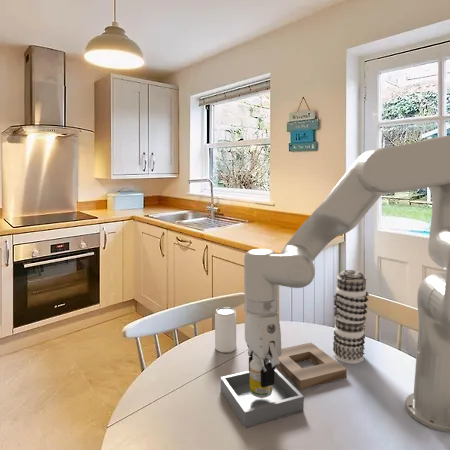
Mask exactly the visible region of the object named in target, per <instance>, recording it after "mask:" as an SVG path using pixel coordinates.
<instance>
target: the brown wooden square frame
mask: <svg viewBox="0 0 450 450" xmlns="http://www.w3.org/2000/svg"><path fill="white" fill-rule="evenodd" d="M278 359H279V362H280V364H279V365H278V366H277V367H276V369H277V370H278V371H279V372H281V373H282V374H283V375H284V376H285V377H286V378H288V379H289V381H291V382H292V384H294V385H295V386H296V387H297V389H298V390H300V391H302V390H305V389H309V388H313V387H318V386H321V385H324V384H328V383H332V382H336V381H340V380H344V379H348V377H347V376H348V375H347V373H348V369H347V367H345V366H344V365H342V364H341V363H339V361H338V360H337V359H334V357H331V355H329V354H327V353H326V352H325V351H323V350H322V349H321V348H319V347H318V346H316V345H315V344H314V343H312V342H306V343H302V344H297V345H293V346H287V347H283V348H281V356H278ZM306 361H310V362H312V363H313V364H314V365H312V366H309V367H304V368H302V367H301V366H300V365H299V364H298V363H302V362H306Z"/></svg>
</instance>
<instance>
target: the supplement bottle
mask: <svg viewBox="0 0 450 450" xmlns="http://www.w3.org/2000/svg"><path fill="white" fill-rule="evenodd" d="M267 355H269V353H267ZM267 355H266V356H267ZM265 361H266V364H267V363H270V359H267V360H265ZM261 370H262V363H261V358H260V357H259V356H258V355H257V354H256V353H255V352H253V360H251V362H250V393H251V394H252V395H253V396H255V397H259V398H265V397H268V396H270V395H271V393H272V385H271V386H267V387H261Z"/></svg>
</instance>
